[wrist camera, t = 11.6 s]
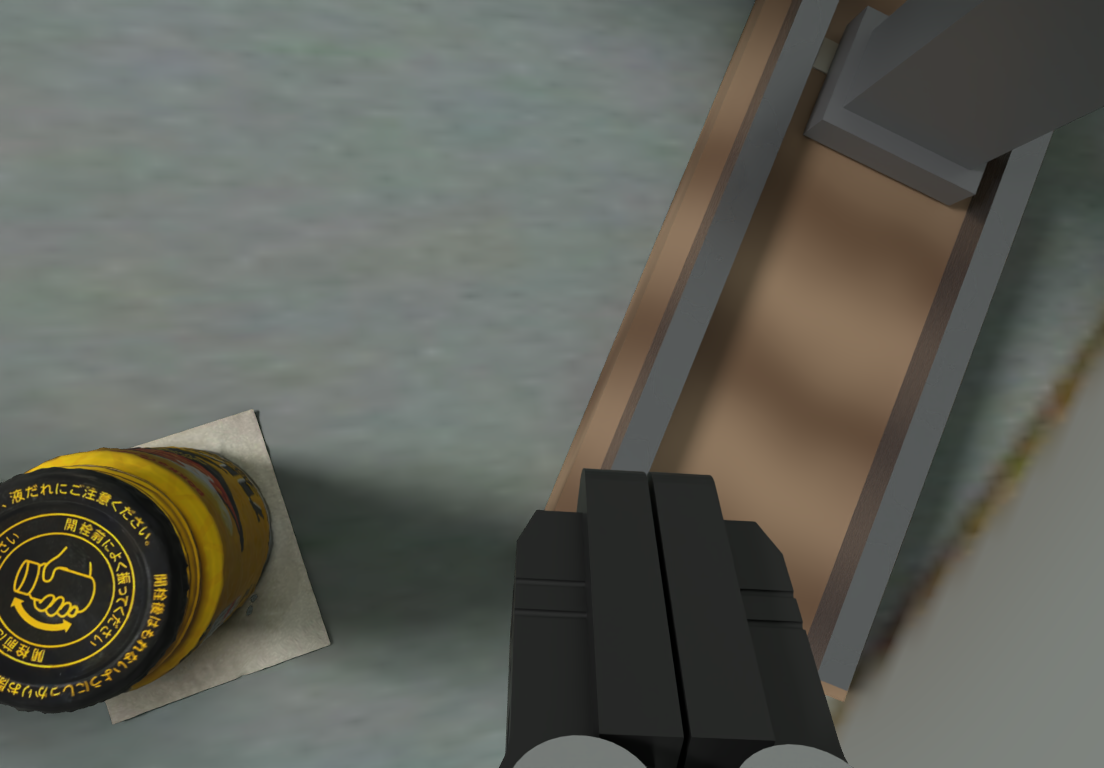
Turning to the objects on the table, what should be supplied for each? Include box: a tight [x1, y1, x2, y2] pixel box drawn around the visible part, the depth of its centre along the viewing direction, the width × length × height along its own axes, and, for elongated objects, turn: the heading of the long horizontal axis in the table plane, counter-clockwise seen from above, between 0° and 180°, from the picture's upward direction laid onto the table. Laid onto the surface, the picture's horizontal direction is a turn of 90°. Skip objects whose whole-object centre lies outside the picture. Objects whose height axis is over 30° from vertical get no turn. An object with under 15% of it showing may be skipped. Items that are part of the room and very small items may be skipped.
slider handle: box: [803, 0, 1104, 206], centre depth 26 cm, size 4×6×16 cm
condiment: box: [0, 409, 330, 724], centre depth 26 cm, size 7×8×12 cm
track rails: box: [600, 0, 1054, 691], centre depth 32 cm, size 29×10×2 cm, turn 157°
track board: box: [544, 0, 1054, 702], centre depth 35 cm, size 30×12×2 cm, turn 157°
